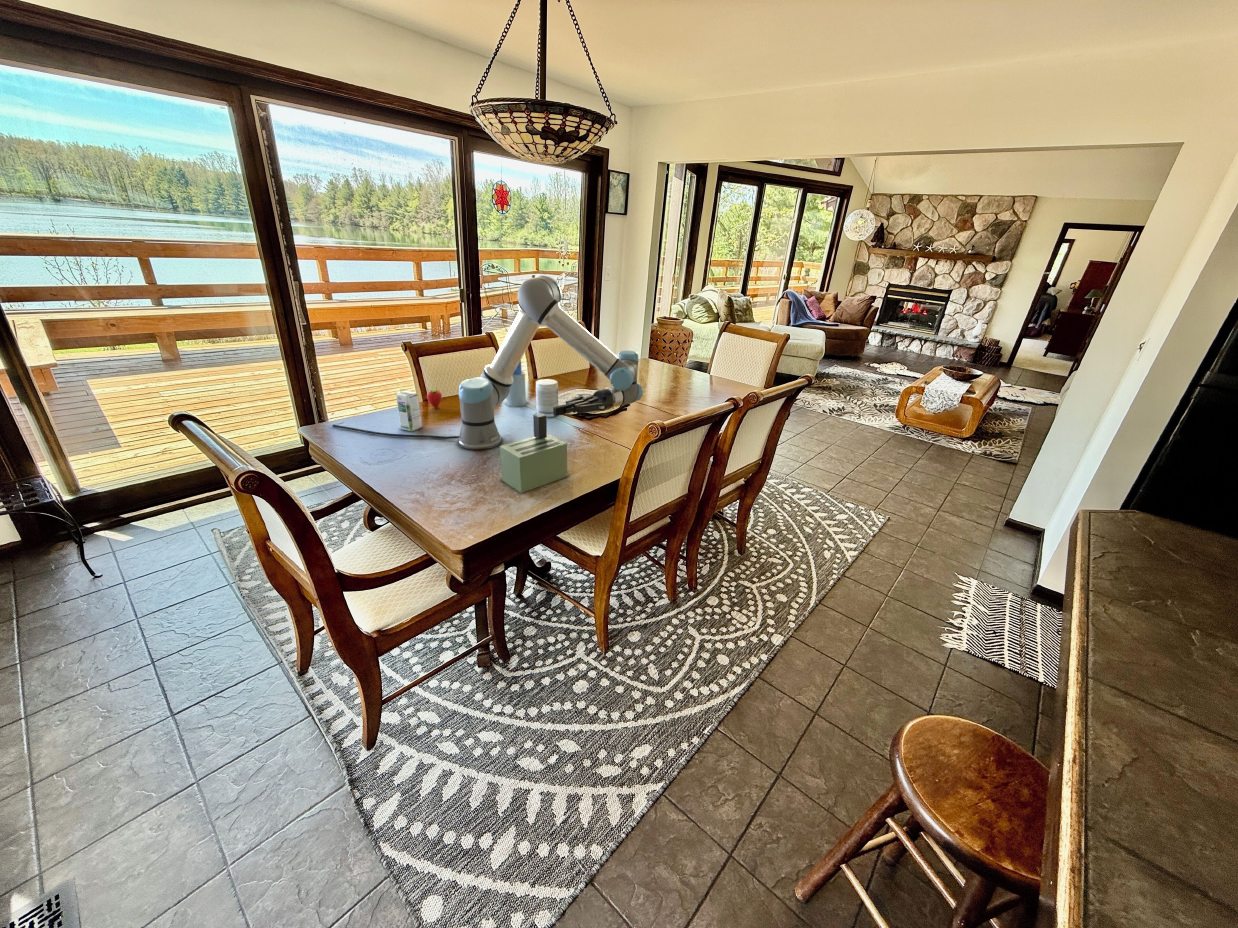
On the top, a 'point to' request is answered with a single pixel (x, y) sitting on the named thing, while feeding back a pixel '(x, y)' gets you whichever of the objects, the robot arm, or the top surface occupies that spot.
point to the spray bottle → (517, 388)
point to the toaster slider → (540, 426)
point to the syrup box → (408, 410)
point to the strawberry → (434, 397)
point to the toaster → (533, 462)
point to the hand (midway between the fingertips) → (554, 411)
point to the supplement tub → (546, 396)
